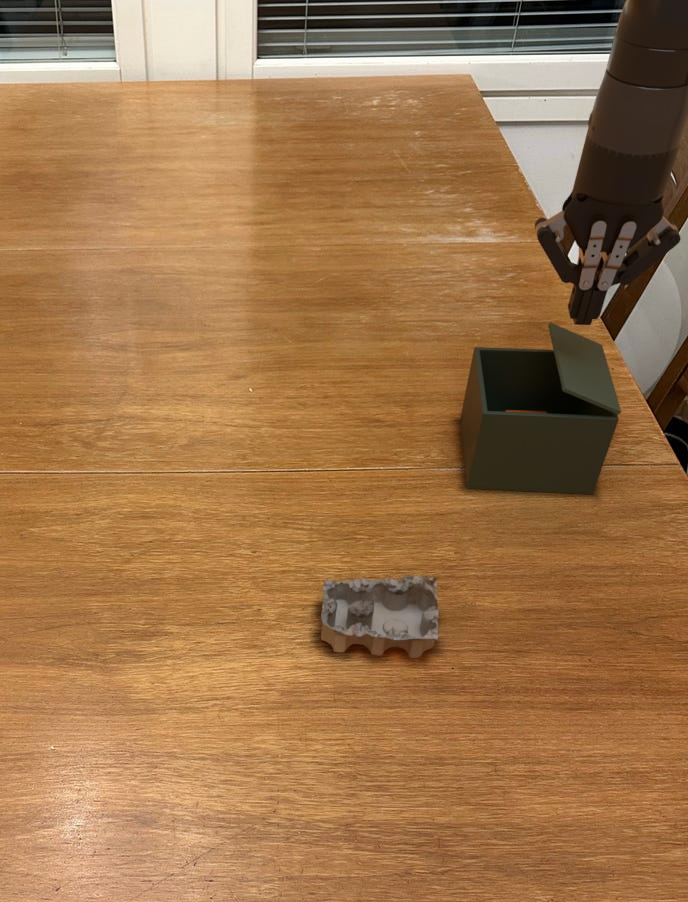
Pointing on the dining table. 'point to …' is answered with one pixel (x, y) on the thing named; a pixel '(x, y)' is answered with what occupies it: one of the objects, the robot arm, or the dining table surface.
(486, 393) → the dark green box
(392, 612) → the egg carton
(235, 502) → the dining table surface
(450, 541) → the dining table surface
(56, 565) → the dining table surface
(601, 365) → the flap
